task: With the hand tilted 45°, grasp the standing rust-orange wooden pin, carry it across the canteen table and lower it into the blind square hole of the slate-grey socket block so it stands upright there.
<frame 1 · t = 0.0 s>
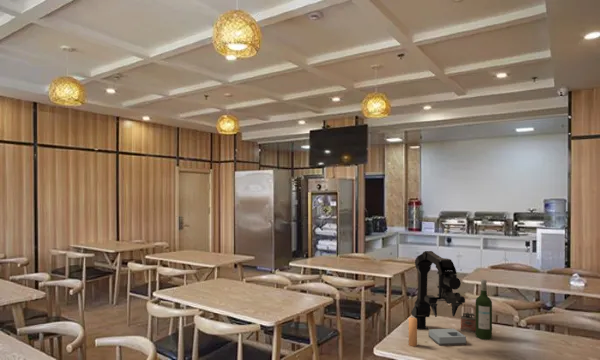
hand: (444, 316, 202), 15 cm above the table, tool pointing down, fingers open, 9 cm apart
wine bottle: (483, 337, 216), on the table
socket block: (446, 340, 210), on the table
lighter: (468, 331, 225), on the table
pin: (412, 345, 203), on the table
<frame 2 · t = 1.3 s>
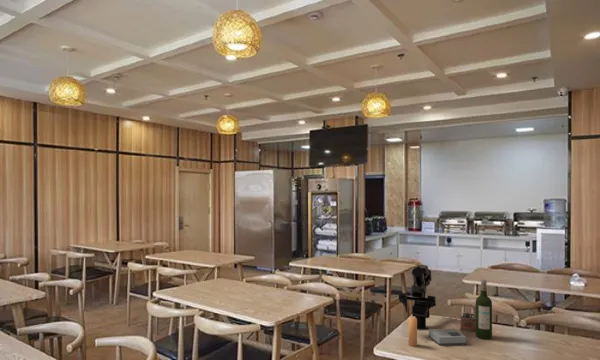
hand: (415, 313, 211), 13 cm above the table, tool tilted 45°, fingers open, 9 cm apart
nothing on the table moved.
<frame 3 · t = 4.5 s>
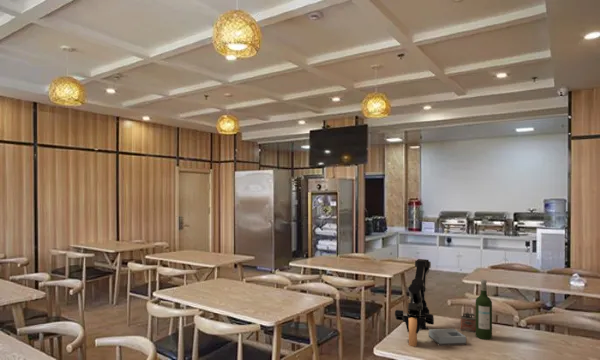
hand: (412, 332, 202), 7 cm above the table, tool tilted 45°, fingers closed on pin, 4 cm apart
pin: (412, 345, 203), on the table, touching gripper
everything else where it was.
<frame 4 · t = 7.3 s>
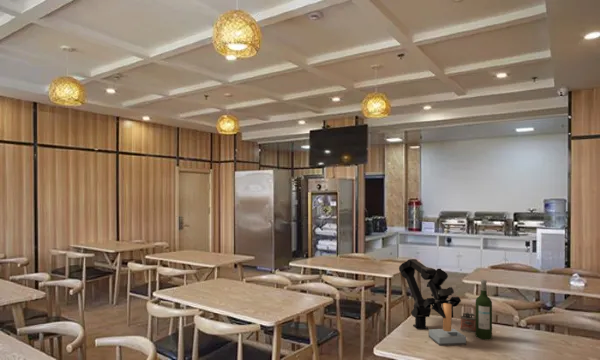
hand: (448, 317, 204), 13 cm above the table, tool tilted 45°, fingers closed on pin, 4 cm apart
pin: (447, 330, 206), point 7 cm above the table, touching gripper
everything else where it was.
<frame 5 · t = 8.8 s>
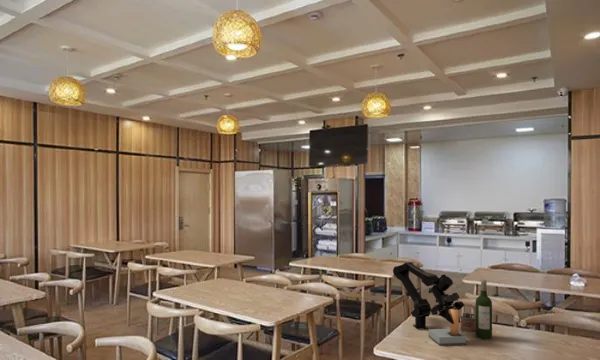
hand: (456, 323, 207), 10 cm above the table, tool tilted 45°, fingers closed on pin, 4 cm apart
pin: (454, 335, 208), point 3 cm above the table, touching gripper
everything else where it was.
when the fingers open (9 cm above the table, at t = 10.0 s): pin drops 1 cm, resting on socket block.
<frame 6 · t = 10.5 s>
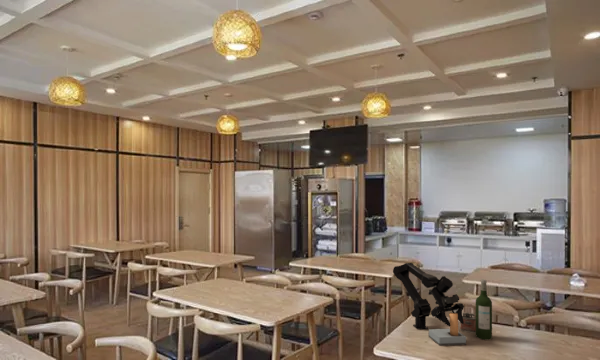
hand: (456, 324, 207), 9 cm above the table, tool tilted 45°, fingers open, 9 cm apart
pin: (454, 339, 208), point 1 cm above the table, touching socket block
everything else where it was.
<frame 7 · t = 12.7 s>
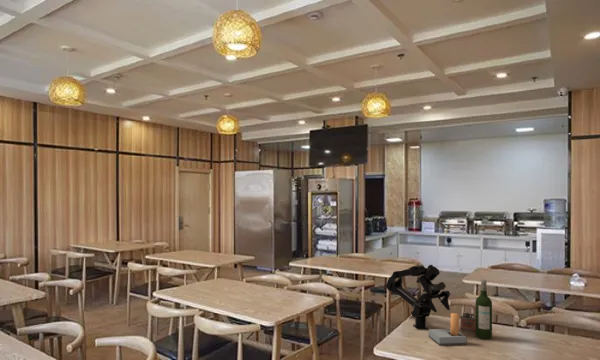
hand: (442, 311, 216), 14 cm above the table, tool tilted 45°, fingers open, 9 cm apart
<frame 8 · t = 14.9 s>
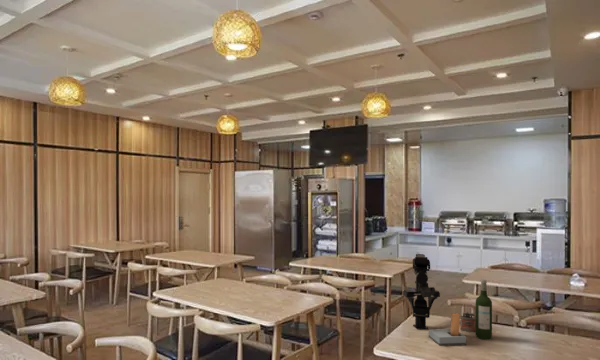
hand: (421, 309, 219), 13 cm above the table, tool pointing down, fingers open, 9 cm apart
nothing on the table moved.
at the end: pin 0.0 cm from the target spot on the socket block, point 1.1 cm above the socket block's base; pin tilted 2°; the gripper is holding nothing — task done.
